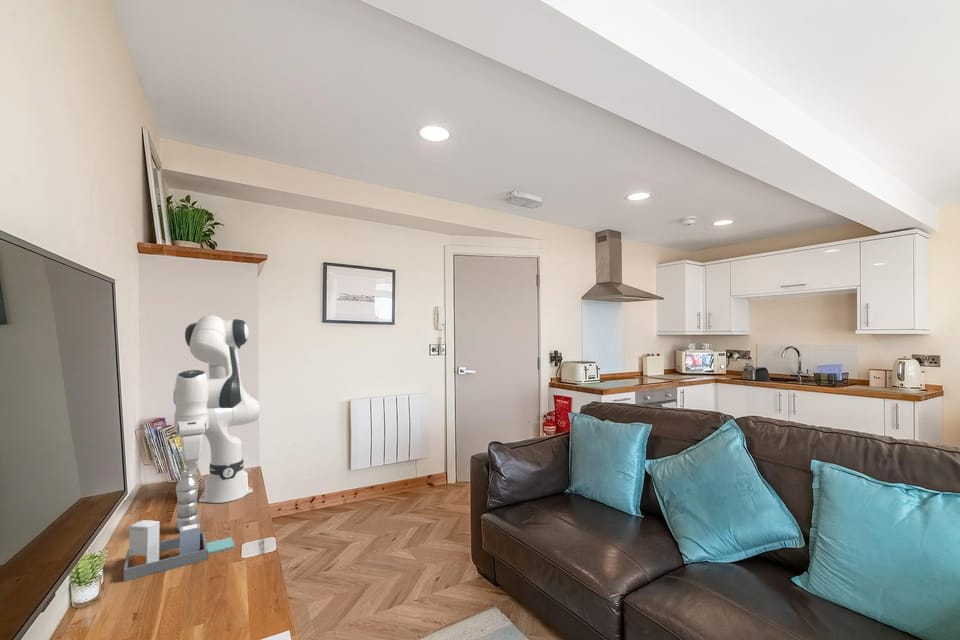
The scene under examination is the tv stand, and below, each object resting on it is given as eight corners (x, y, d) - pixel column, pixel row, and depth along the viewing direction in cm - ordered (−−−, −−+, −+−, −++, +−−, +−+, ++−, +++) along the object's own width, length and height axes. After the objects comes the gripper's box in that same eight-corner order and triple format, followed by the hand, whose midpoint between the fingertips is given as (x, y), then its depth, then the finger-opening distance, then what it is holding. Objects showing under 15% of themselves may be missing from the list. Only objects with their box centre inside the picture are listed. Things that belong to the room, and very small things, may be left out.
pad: (206, 545, 139) (206, 543, 139) (231, 538, 143) (231, 537, 143) (208, 554, 133) (207, 552, 133) (234, 547, 137) (234, 545, 137)
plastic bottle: (202, 528, 151) (203, 469, 151) (180, 535, 145) (181, 474, 146) (193, 523, 155) (194, 465, 155) (171, 531, 149) (172, 471, 149)
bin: (127, 559, 131) (127, 548, 131) (204, 540, 142) (204, 531, 142) (123, 581, 119) (123, 570, 119) (207, 559, 130) (207, 549, 130)
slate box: (179, 553, 134) (179, 526, 134) (199, 548, 137) (199, 522, 137) (179, 559, 131) (179, 531, 131) (199, 554, 133) (200, 527, 134)
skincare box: (128, 568, 126) (128, 525, 126) (141, 560, 130) (142, 519, 130) (147, 570, 125) (147, 527, 125) (160, 562, 129) (160, 520, 129)
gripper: (179, 420, 142) (179, 464, 142) (178, 431, 125) (178, 480, 125) (203, 418, 146) (203, 460, 145) (205, 428, 129) (205, 476, 128)
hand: (191, 470), depth 135 cm, fingers open, 8 cm apart
